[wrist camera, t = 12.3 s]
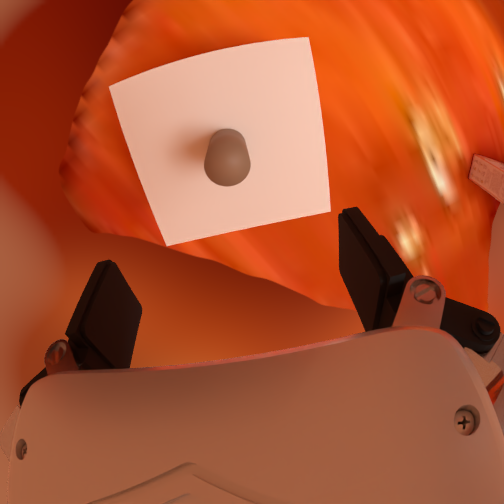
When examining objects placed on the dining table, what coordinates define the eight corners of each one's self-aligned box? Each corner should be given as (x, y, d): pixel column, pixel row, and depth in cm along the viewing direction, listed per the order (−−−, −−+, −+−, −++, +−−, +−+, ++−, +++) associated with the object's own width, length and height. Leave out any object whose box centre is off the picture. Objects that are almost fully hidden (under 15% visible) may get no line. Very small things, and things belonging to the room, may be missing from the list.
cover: (142, 81, 30) (80, 92, 16) (284, 47, 29) (329, 29, 15) (180, 202, 41) (157, 280, 27) (305, 174, 40) (349, 240, 26)
